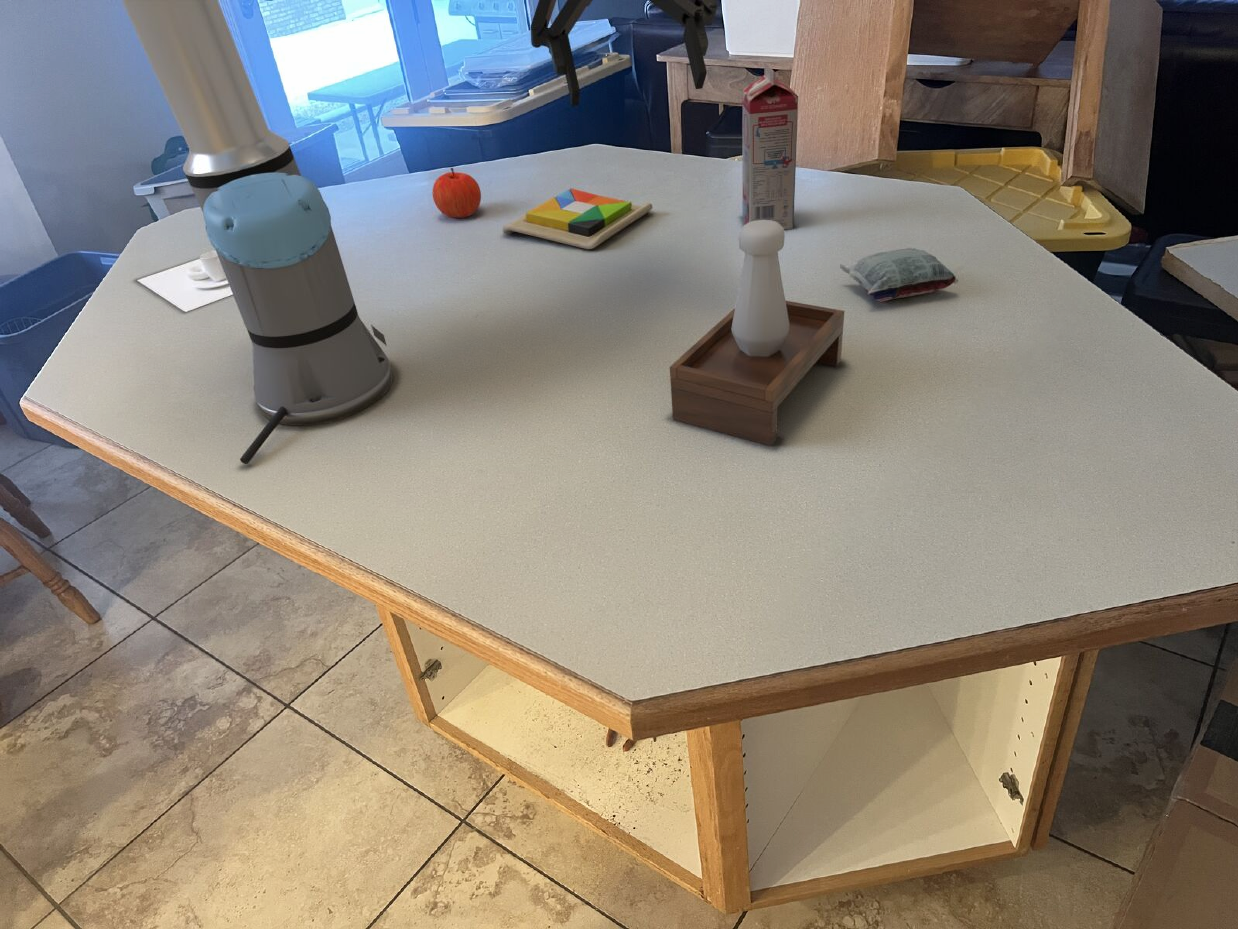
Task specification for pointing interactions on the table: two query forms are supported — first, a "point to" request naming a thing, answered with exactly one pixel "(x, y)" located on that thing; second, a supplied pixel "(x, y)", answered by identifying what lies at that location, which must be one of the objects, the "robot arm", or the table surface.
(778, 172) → the juice carton
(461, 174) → the apple
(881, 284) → the packaged food
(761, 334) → the salt shaker
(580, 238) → the wooden puzzle
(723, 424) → the spice rack
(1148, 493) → the table surface
